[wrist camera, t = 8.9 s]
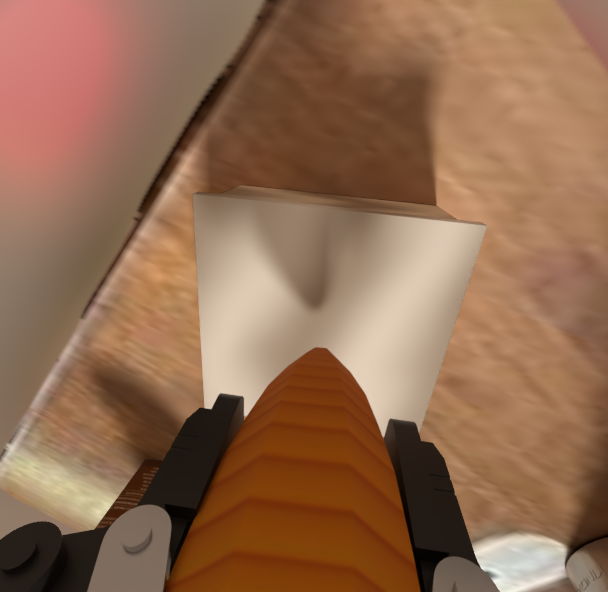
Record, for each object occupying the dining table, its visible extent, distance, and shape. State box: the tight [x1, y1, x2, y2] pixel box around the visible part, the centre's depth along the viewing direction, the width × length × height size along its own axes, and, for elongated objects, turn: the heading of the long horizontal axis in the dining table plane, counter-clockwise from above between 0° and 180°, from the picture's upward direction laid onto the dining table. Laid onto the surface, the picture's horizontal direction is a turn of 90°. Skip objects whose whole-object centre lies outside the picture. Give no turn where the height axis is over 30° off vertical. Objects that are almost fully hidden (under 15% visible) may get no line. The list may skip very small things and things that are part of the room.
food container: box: [94, 460, 163, 530], centre depth 27 cm, size 12×6×10 cm, turn 10°
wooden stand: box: [193, 185, 487, 436], centre depth 18 cm, size 12×12×6 cm
